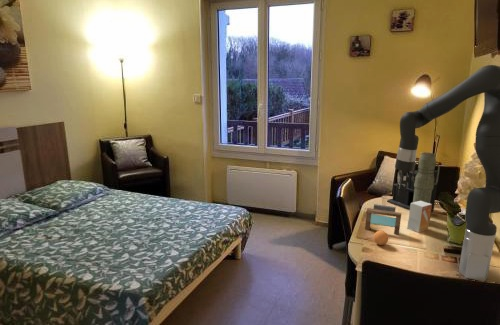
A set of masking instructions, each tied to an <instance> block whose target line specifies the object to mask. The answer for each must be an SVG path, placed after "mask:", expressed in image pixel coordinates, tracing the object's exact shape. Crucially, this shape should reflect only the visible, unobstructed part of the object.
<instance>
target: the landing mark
mask: <svg viewBox="0 0 500 325" xmlns="http://www.w3.org/2000/svg"><path fill="white" fill-rule="evenodd" d="M395 222H396V217H394V216H387V215H381V214H374V213H371V222H370V224H372V225H373V224H374V225H380V226H384V227H392V228H395Z"/></svg>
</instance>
